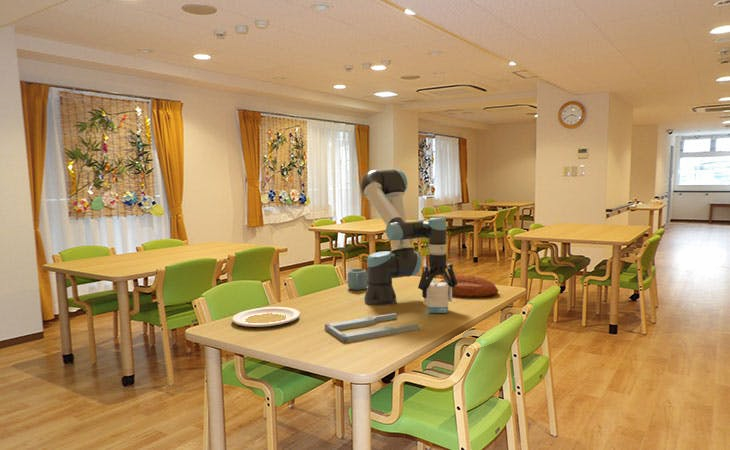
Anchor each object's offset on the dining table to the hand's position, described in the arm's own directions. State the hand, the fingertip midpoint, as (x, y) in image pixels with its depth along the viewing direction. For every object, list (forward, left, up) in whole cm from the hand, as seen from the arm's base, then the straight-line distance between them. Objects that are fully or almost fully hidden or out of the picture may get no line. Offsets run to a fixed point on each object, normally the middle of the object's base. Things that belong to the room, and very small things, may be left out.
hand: (438, 303), depth 219 cm
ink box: (0, 0, -3) cm, 3 cm away
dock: (+8, -36, -4) cm, 37 cm away
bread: (-23, +32, -4) cm, 39 cm away
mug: (-60, -11, -4) cm, 61 cm away
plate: (-27, -69, -4) cm, 74 cm away
